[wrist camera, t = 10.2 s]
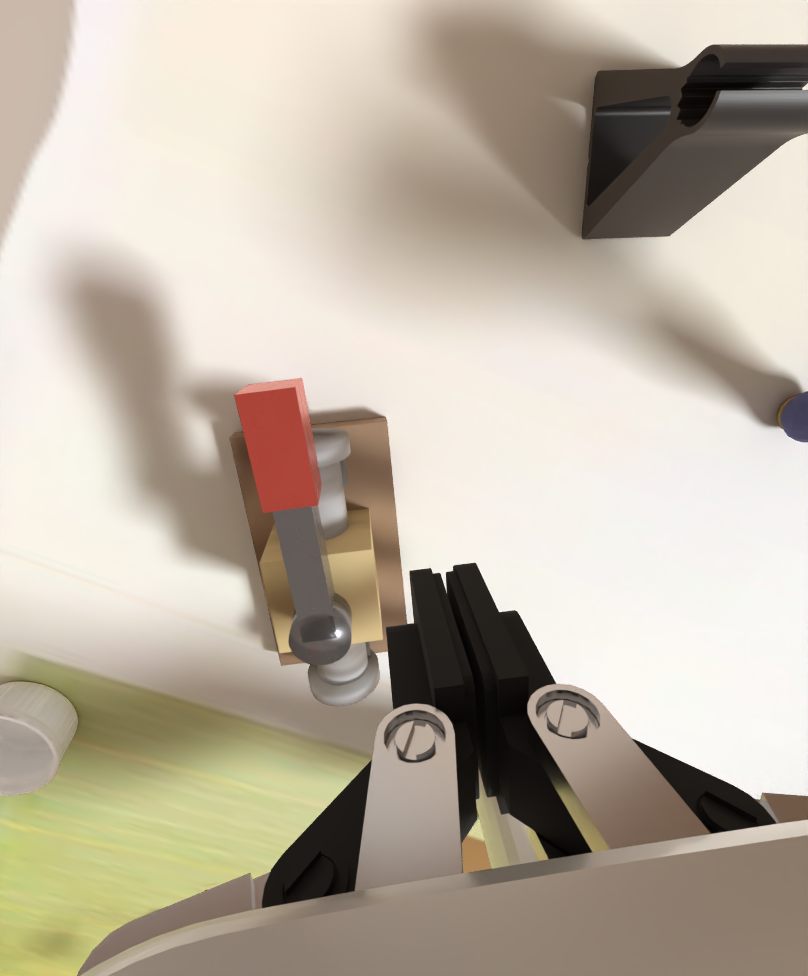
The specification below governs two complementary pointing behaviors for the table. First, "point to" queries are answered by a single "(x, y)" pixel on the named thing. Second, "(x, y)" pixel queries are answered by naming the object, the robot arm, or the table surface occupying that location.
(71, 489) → the table surface
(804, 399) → the rubber mallet
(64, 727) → the ramekin
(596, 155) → the phone stand
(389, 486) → the valve manifold
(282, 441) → the lever
